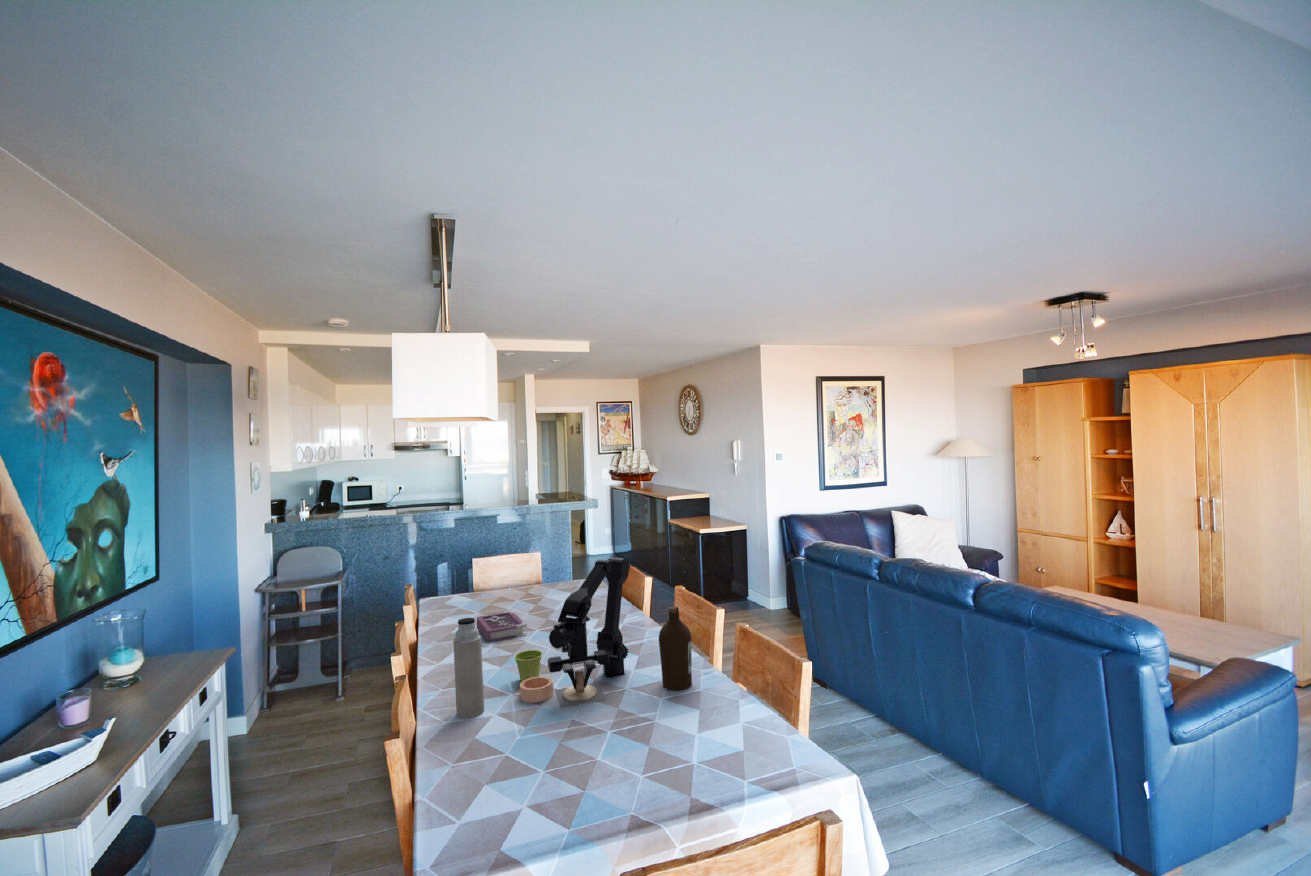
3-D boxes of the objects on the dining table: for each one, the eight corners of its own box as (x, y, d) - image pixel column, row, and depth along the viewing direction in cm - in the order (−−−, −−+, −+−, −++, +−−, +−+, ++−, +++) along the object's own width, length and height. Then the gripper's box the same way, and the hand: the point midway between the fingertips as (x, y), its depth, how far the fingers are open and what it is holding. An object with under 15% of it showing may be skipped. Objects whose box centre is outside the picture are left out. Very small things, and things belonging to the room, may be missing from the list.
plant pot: (537, 686, 195) (536, 660, 195) (510, 685, 197) (509, 659, 197) (547, 675, 204) (546, 650, 204) (522, 674, 206) (521, 649, 206)
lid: (593, 685, 192) (592, 663, 192) (599, 698, 182) (598, 675, 182) (561, 690, 189) (560, 668, 189) (566, 704, 179) (565, 680, 179)
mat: (597, 684, 194) (597, 682, 194) (606, 701, 180) (606, 699, 180) (555, 691, 190) (555, 689, 190) (560, 709, 176) (560, 707, 176)
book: (527, 635, 250) (526, 624, 250) (488, 643, 243) (487, 631, 243) (512, 621, 272) (512, 610, 273) (477, 627, 265) (476, 616, 265)
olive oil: (661, 692, 185) (657, 613, 185) (660, 679, 195) (656, 604, 196) (695, 690, 185) (691, 611, 186) (692, 677, 196) (688, 602, 196)
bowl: (550, 688, 192) (550, 674, 192) (554, 700, 183) (554, 686, 183) (519, 693, 190) (518, 679, 190) (521, 706, 180) (521, 691, 180)
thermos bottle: (467, 705, 183) (463, 614, 183) (489, 707, 180) (485, 616, 180) (450, 716, 175) (446, 622, 175) (473, 719, 172) (469, 623, 173)
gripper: (601, 627, 196) (603, 674, 196) (544, 634, 190) (547, 683, 190) (608, 637, 185) (611, 686, 185) (548, 645, 180) (551, 696, 180)
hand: (579, 688), depth 185 cm, fingers closed on lid, 3 cm apart
